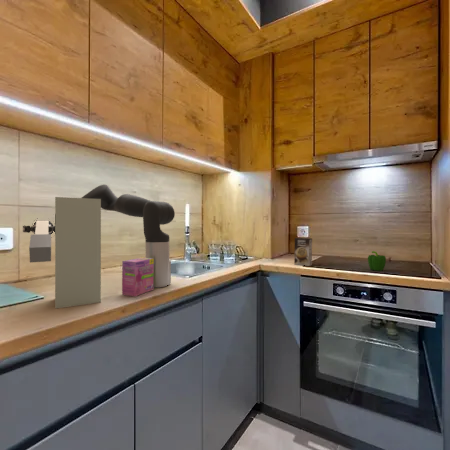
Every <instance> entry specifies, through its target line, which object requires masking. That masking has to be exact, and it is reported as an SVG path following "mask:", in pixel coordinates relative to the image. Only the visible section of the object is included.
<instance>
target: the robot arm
mask: <svg viewBox="0 0 450 450" xmlns="http://www.w3.org/2000/svg"><path fill="white" fill-rule="evenodd" d="M81 198H89V199H101V210H106V211H113V212H117V213H120V214H123V215H126V216H130V217H133V218H135V217H136V218H142V222H143V234H144V238H145V240H144V241H145V246H144V247H145V258H154V267H153V288H164V287H167V285H168V286H170V285H171V284H170V283H172V271H171V270H172V260H171V259H170V235H169V234H168V233H166V232H164V231H163V230H162V229H161V225H168V224H170V223H171V222H172V221H173V220H174V219H175V213H176V212H175V209H174V207H173V206H172V204H170V203H169V202H166V201H159V200H158V201H157V200H150V199H147V198H144V197H141V196H137V195H134V194H129V193H125V194H124V193H122V194H121V195H120V196H119V197H117V195H116V194H115V193H114V192H113V190H112V189H111V188H110V187H109V185H107V184H100V185H98V186H96V187H94V188H93V189H92V190H90V191H89V192H88V193H86V194H85V195H83V196H82V197H81ZM35 230H36V222H35V223H34V225H33V224H32V225H22V233H33V235H35ZM53 231H54V232H55V224H54V223H52V221H51V220H50V221H49V226H48V232H49V234H52V233H53Z"/></svg>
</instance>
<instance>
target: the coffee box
mask: <svg viewBox="0 0 450 450" xmlns="http://www.w3.org/2000/svg"><path fill="white" fill-rule="evenodd" d="M293 265H296V266H304V265H305V266H304V267H307V266H308V267H309V266H312V265H313V238H310V237H308V238H307V237H294V263H293Z"/></svg>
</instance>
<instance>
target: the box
mask: <svg viewBox="0 0 450 450" xmlns="http://www.w3.org/2000/svg"><path fill="white" fill-rule="evenodd" d="M121 265H122V269H121V270H122V273H121V279H122V280H121V287H122V288H121V295H122V296H127V297H137V296H140V295H143V294H145V293H148V292H151V291H153V290H154V287H153V267H154V258H146V257H138V258H133V259H127V260H122V264H121Z"/></svg>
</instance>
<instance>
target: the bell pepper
mask: <svg viewBox="0 0 450 450" xmlns="http://www.w3.org/2000/svg"><path fill="white" fill-rule="evenodd" d="M371 253H372V254H370V255H368V256H367V263H368V267H369V268H370V270H372V271H379V272H381V271H383V270H384V269H385V267H386V259H387V258H386V256H385V255H381V254H378V252H377V251H374V250H373V251H371Z"/></svg>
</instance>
